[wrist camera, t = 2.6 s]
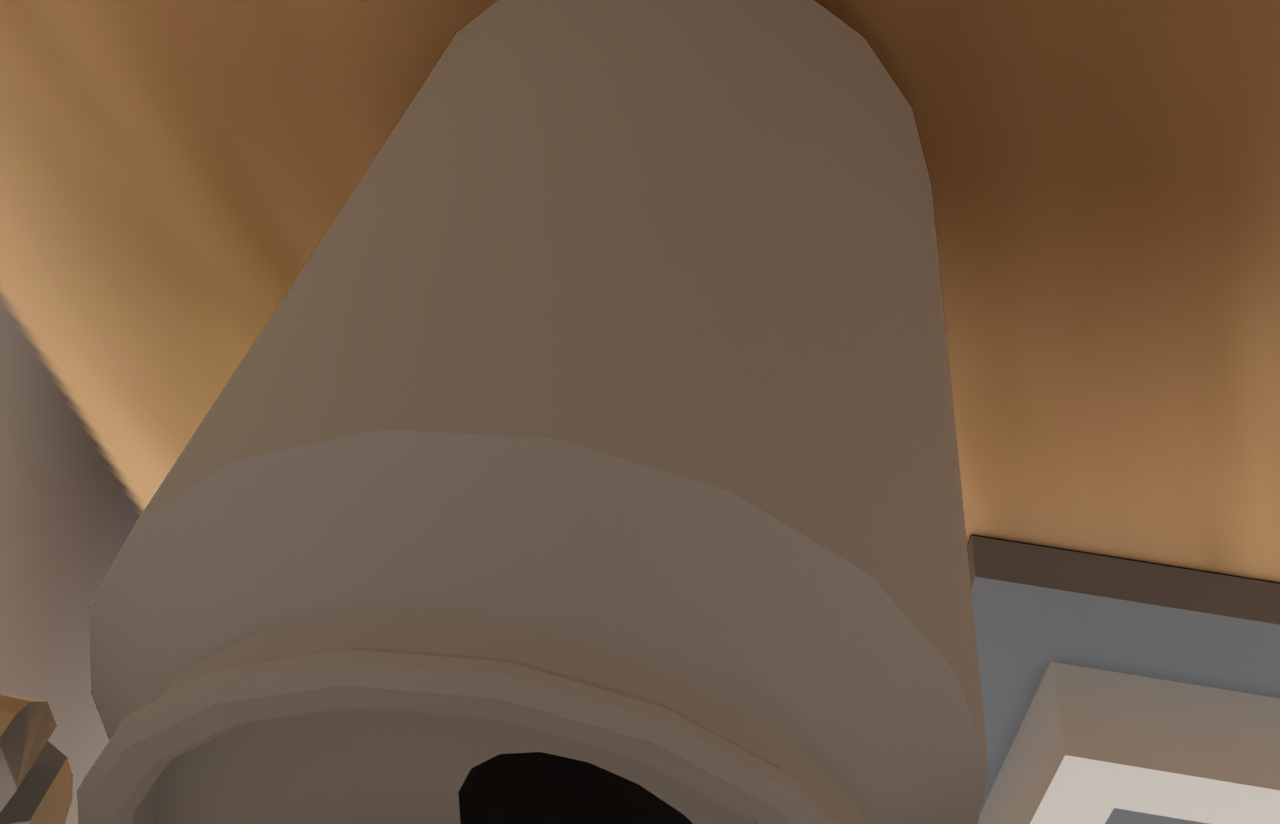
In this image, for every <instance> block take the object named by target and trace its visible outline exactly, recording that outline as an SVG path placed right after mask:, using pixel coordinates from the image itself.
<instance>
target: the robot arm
mask: <svg viewBox="0 0 1280 824" xmlns="http://www.w3.org/2000/svg"><path fill="white" fill-rule="evenodd" d="M56 726H57V725H56V723H55V720H54V717H53V715H52V713H51V710H50V708H49V705H48V703H47V702H46V701H41V700H35V699H29V698H24V697H18V696H12V695H6V694H1V693H0V824H65V822H66V818H67V815H68V812H69V808H70V805H71V802H72V788H73V787H72V786H73V775H72V771H71V768H70V765H69V762H68V759H67V757H66V756H65V755H64V754H62V753H61V752H60V751H59V750H58V749H57V748H55V747H54V746H53V745H52V744H51V743H50V742H49V741H48V739H49V737H50V736H51V734H52V733H53V731H54V729H55V728H56Z"/></svg>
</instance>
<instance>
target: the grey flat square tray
mask: <svg viewBox="0 0 1280 824" xmlns="http://www.w3.org/2000/svg"><path fill="white" fill-rule="evenodd" d="M967 552H968V562H969V572H970V583H971V593H972V603H973V613H974V623H975V633H976V644H977V654H978V664H979V674H980V684H981V694H982V705H983V715H984V725H985V735H986V745H987V755H988V766H989V776H988V781H987V785H986V790H985V794H984V798H983V803H982V807H981V812H980V816H979V821H978V824H1280V584H1278V583H1272V582H1265V581H1259V580H1252V579H1246V578H1240V577H1233V576H1227V575H1220V574H1214V573H1208V572H1201V571H1195V570H1188V569H1182V568H1176V567H1169V566H1163V565H1156V564H1150V563H1144V562H1137V561H1131V560H1124V559H1118V558H1112V557H1105V556H1099V555H1092V554H1086V553H1080V552H1073V551H1067V550H1060V549H1054V548H1048V547H1041V546H1035V545H1028V544H1022V543H1016V542H1009V541H1003V540H996V539H990V538H984V537H977V536H971V538H970V541H969V544H968V546H967Z"/></svg>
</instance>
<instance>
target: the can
mask: <svg viewBox="0 0 1280 824" xmlns="http://www.w3.org/2000/svg"><path fill="white" fill-rule="evenodd" d="M89 630H90V665H91V666H90V667H91V694H92V696H93V699H94V702H95V704H96V707H97V710H98V712H99V715H100V717H101V720H102V723H103V725H104V728H105V730H106V733H107V736H108V738H109V742H108V743H107V745H106V746H105V748H104V750H103V751H102V753H101V754H100V756H99V757H98V758H97V760H96V761H95V763H94V765H93V766H92V767H91V769H90V771H89V772H88V774H87V775H86V777H85V778H84V780H83V781H82V783H81V785H80V787H79V788H78V790H77V799H78V822H79V824H978V821H979V816H980V812H981V807H982V803H983V798H984V794H985V790H986V785H987V781H988V776H989V766H988V755H987V745H986V735H985V725H984V715H983V705H982V694H981V684H980V674H979V664H978V654H977V644H976V633H975V623H974V613H973V603H972V593H971V583H970V572H969V562H968V552H967V542H966V532H965V522H964V511H963V501H962V491H961V481H960V471H959V461H958V450H957V440H956V430H955V420H954V410H953V400H952V390H951V379H950V369H949V359H948V349H947V339H946V329H945V318H944V308H943V298H942V288H941V278H940V268H939V257H938V247H937V237H936V227H935V217H934V207H933V196H932V186H931V182H930V178H929V174H928V170H927V166H926V162H925V158H924V154H923V150H922V146H921V142H920V138H919V134H918V130H917V126H916V122H915V118H914V114H913V110H912V108H911V106H910V105H909V103H908V102H907V100H906V99H905V97H904V96H903V94H902V93H901V91H900V90H899V88H898V87H897V85H896V84H895V83H894V81H893V80H892V78H891V77H890V75H889V74H888V72H887V71H886V69H885V68H884V66H883V65H882V63H881V62H880V60H879V59H878V57H877V56H876V55H875V53H874V52H873V50H872V49H871V47H870V46H869V44H868V43H867V41H866V40H865V38H864V37H863V36H861V35H860V34H859V33H857V32H856V31H855V30H853V29H852V28H851V27H849V26H848V25H847V24H845V23H844V22H843V21H841V20H840V19H839V18H837V17H836V16H835V15H833V14H832V13H831V12H829V11H828V10H827V9H825V8H824V7H823V6H821V5H820V4H819V3H817V2H816V1H815V0H497V1H496V2H495V3H493V4H492V5H491V6H490V7H488V8H487V9H486V10H485V11H483V12H482V13H481V14H480V15H478V16H477V17H476V18H475V19H473V20H472V21H471V22H470V23H468V24H467V25H466V26H465V27H463V28H462V29H461V30H460V31H458V32H457V33H456V35H455V36H454V38H453V39H452V41H451V43H450V44H449V46H448V47H447V49H446V50H445V52H444V53H443V55H442V56H441V58H440V59H439V61H438V62H437V64H436V65H435V67H434V69H433V70H432V72H431V73H430V75H429V76H428V78H427V79H426V81H425V82H424V84H423V85H422V87H421V88H420V90H419V91H418V93H417V94H416V96H415V98H414V99H413V101H412V102H411V104H410V105H409V107H408V108H407V110H406V111H405V113H404V114H403V116H402V117H401V119H400V120H399V122H398V124H397V125H396V127H395V128H394V130H393V131H392V133H391V134H390V136H389V137H388V139H387V140H386V142H385V143H384V145H383V146H382V148H381V149H380V151H379V153H378V154H377V156H376V157H375V159H374V160H373V162H372V163H371V165H370V166H369V168H368V169H367V171H366V172H365V174H364V175H363V177H362V179H361V180H360V182H359V183H358V185H357V186H356V188H355V189H354V191H353V192H352V194H351V195H350V197H349V198H348V200H347V201H346V203H345V205H344V206H343V208H342V209H341V211H340V212H339V214H338V215H337V217H336V218H335V220H334V221H333V223H332V224H331V226H330V227H329V229H328V230H327V232H326V234H325V235H324V237H323V238H322V240H321V241H320V243H319V244H318V246H317V247H316V249H315V250H314V252H313V253H312V255H311V256H310V258H309V260H308V261H307V263H306V264H305V266H304V267H303V269H302V270H301V272H300V273H299V275H298V276H297V278H296V279H295V281H294V282H293V284H292V285H291V287H290V289H289V290H288V292H287V293H286V295H285V296H284V298H283V299H282V301H281V302H280V304H279V305H278V307H277V308H276V310H275V311H274V313H273V315H272V316H271V318H270V319H269V321H268V322H267V324H266V325H265V327H264V328H263V330H262V331H261V333H260V334H259V336H258V337H257V339H256V340H255V342H254V344H253V345H252V347H251V348H250V350H249V351H248V353H247V354H246V356H245V357H244V359H243V360H242V362H241V363H240V365H239V366H238V368H237V370H236V371H235V373H234V374H233V376H232V377H231V379H230V380H229V382H228V383H227V385H226V386H225V388H224V389H223V391H222V392H221V394H220V395H219V397H218V399H217V400H216V402H215V403H214V405H213V406H212V408H211V409H210V411H209V412H208V414H207V415H206V417H205V418H204V420H203V421H202V423H201V425H200V426H199V428H198V429H197V431H196V432H195V434H194V435H193V437H192V438H191V440H190V441H189V443H188V444H187V446H186V447H185V449H184V451H183V452H182V454H181V455H180V457H179V458H178V460H177V461H176V463H175V464H174V466H173V467H172V469H171V470H170V472H169V473H168V475H167V476H166V478H165V480H164V481H163V483H162V484H161V486H160V487H159V489H158V490H157V492H156V493H155V495H154V496H153V498H152V499H151V501H150V502H149V504H148V506H147V507H146V509H145V510H144V512H143V513H142V515H141V516H140V518H139V519H138V521H137V522H136V524H135V525H134V527H133V529H132V531H131V533H130V535H129V536H128V538H127V540H126V541H125V543H124V545H123V547H122V549H121V551H120V552H119V554H118V556H117V557H116V559H115V561H114V563H113V565H112V566H111V568H110V570H109V572H108V574H107V575H106V577H105V579H104V581H103V582H102V584H101V586H100V588H99V590H98V591H97V593H96V595H95V596H94V598H93V600H92V602H91V604H90V605H89Z"/></svg>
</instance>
